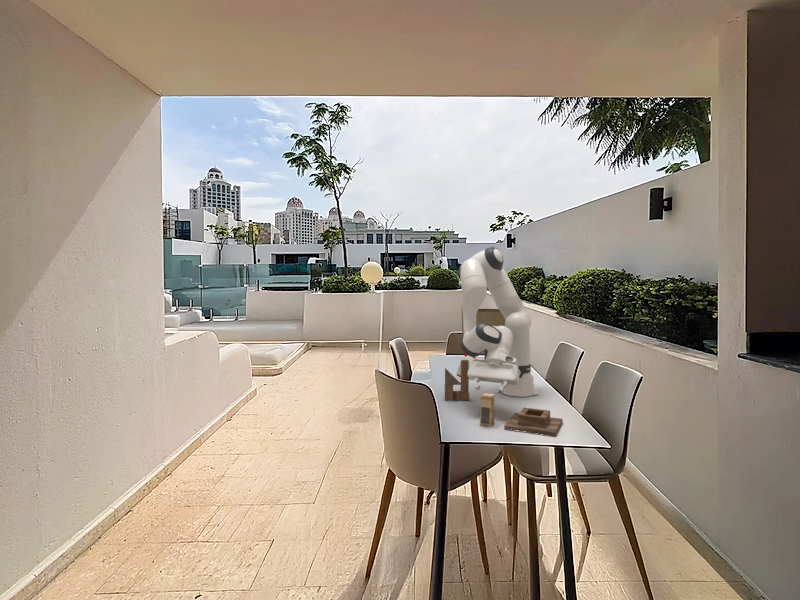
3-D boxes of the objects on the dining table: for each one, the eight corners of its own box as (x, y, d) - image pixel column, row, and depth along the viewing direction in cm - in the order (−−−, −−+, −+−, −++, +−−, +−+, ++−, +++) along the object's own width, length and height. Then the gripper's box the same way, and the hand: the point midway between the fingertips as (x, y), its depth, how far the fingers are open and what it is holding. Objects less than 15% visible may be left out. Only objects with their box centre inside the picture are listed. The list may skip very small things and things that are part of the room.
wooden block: (444, 398, 222) (444, 359, 221) (468, 398, 222) (468, 359, 221) (445, 400, 219) (445, 360, 218) (469, 400, 219) (469, 360, 218)
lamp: (483, 364, 304) (484, 308, 302) (513, 368, 292) (514, 309, 290) (466, 369, 289) (467, 310, 287) (497, 373, 276) (498, 312, 274)
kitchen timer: (466, 373, 279) (467, 346, 278) (487, 376, 269) (487, 349, 268) (451, 376, 269) (452, 349, 268) (472, 380, 259) (472, 352, 258)
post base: (515, 416, 195) (515, 404, 195) (562, 422, 187) (562, 409, 187) (504, 429, 179) (504, 416, 179) (555, 436, 171) (555, 422, 171)
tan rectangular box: (484, 421, 189) (484, 393, 188) (494, 422, 187) (494, 394, 186) (480, 425, 184) (480, 396, 183) (490, 426, 182) (490, 397, 182)
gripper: (470, 354, 201) (461, 382, 193) (520, 359, 192) (513, 389, 184) (473, 363, 205) (465, 391, 197) (522, 368, 196) (516, 398, 188)
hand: (488, 390), depth 190 cm, fingers open, 8 cm apart
